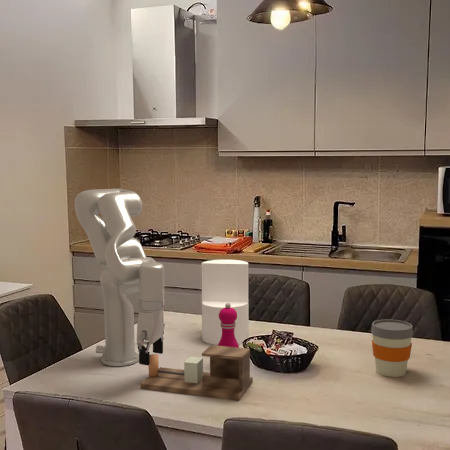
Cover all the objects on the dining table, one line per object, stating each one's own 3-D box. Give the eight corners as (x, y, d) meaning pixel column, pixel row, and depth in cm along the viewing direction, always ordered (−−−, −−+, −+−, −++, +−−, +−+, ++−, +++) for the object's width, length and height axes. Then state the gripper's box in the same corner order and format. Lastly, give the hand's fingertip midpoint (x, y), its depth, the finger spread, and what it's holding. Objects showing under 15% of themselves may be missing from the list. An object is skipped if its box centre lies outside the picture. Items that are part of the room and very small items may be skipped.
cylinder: (206, 330, 233) (205, 259, 230) (250, 332, 231) (250, 259, 227) (198, 344, 216) (197, 267, 213) (246, 346, 214) (245, 268, 210)
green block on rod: (145, 377, 180) (145, 358, 179) (152, 371, 185) (152, 352, 184) (197, 383, 175) (197, 363, 174) (203, 377, 180) (203, 357, 179)
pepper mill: (237, 367, 193) (236, 306, 190) (215, 365, 194) (214, 305, 192) (241, 359, 200) (240, 300, 197) (219, 358, 201) (219, 299, 199)
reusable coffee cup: (414, 367, 191) (416, 321, 189) (408, 381, 180) (410, 332, 178) (374, 362, 196) (375, 317, 195) (366, 375, 185) (367, 327, 183)
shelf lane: (140, 388, 176) (139, 350, 175) (160, 371, 189) (159, 336, 188) (239, 400, 167) (239, 361, 165) (252, 382, 180) (252, 345, 179)
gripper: (152, 295, 189) (151, 347, 192) (126, 310, 173) (126, 367, 176) (174, 297, 187) (173, 350, 190) (150, 313, 171) (150, 371, 173)
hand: (151, 358), depth 183 cm, fingers open, 9 cm apart
